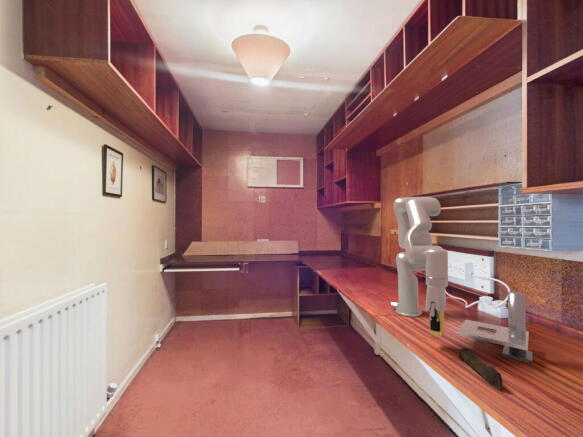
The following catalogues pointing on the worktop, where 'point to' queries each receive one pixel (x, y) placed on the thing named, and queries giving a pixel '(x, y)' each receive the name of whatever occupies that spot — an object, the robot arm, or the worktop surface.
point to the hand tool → (482, 368)
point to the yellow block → (441, 319)
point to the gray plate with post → (505, 330)
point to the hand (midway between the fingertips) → (436, 328)
